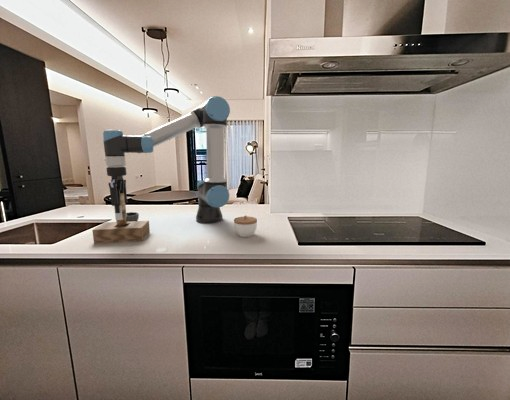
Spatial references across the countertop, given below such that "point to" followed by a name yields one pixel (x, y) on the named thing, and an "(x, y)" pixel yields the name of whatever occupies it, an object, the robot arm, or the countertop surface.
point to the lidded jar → (245, 226)
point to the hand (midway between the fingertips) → (121, 218)
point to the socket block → (121, 232)
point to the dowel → (122, 203)
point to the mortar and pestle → (132, 216)
